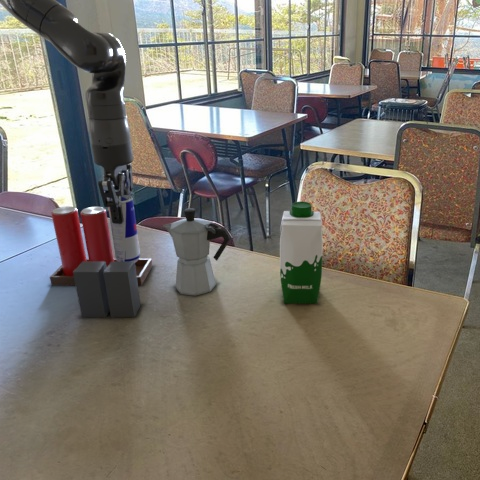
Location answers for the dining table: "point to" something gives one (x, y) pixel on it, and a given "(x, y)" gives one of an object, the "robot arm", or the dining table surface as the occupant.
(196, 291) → the coffee maker
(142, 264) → the can tray
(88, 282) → the grey block
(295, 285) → the milk carton
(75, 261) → the drink can
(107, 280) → the grey block
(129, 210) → the beverage can
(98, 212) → the drink can
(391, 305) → the dining table surface
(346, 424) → the dining table surface
